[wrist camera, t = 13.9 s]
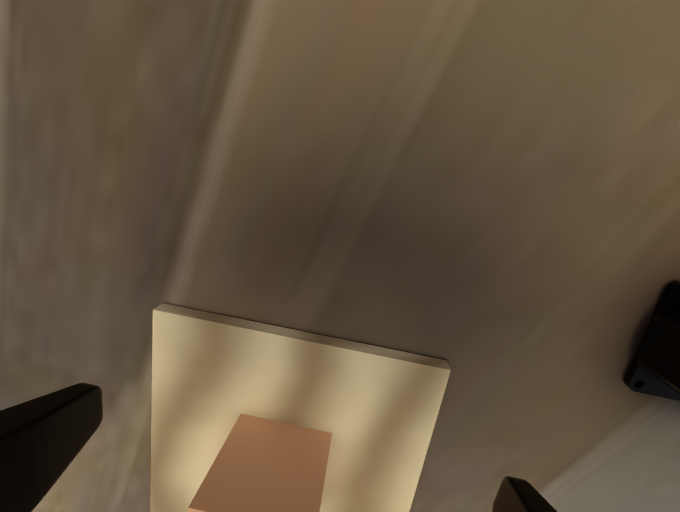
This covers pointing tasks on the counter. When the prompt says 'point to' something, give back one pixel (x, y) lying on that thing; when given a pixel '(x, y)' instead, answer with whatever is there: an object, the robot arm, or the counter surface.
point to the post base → (289, 405)
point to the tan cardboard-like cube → (266, 469)
